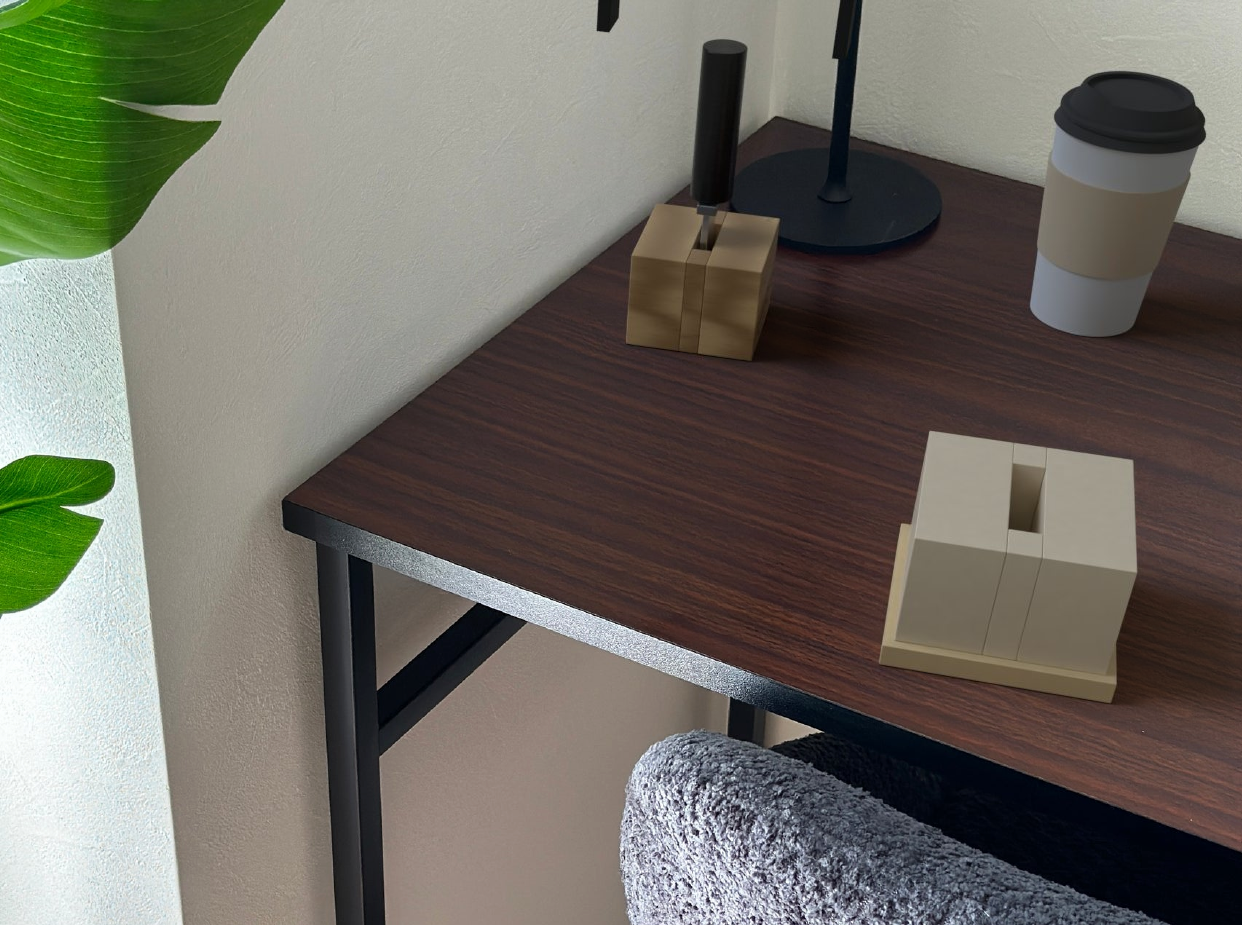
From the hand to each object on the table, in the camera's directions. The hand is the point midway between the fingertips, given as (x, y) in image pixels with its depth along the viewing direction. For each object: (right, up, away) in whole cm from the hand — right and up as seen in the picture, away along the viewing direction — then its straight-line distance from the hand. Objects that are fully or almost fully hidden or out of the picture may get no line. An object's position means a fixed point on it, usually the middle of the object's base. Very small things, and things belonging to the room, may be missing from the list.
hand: (723, 38), depth 99 cm
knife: (0, -14, +11) cm, 18 cm away
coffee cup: (+25, -13, +14) cm, 32 cm away
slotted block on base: (+13, -34, -12) cm, 38 cm away
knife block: (0, -14, +11) cm, 18 cm away
